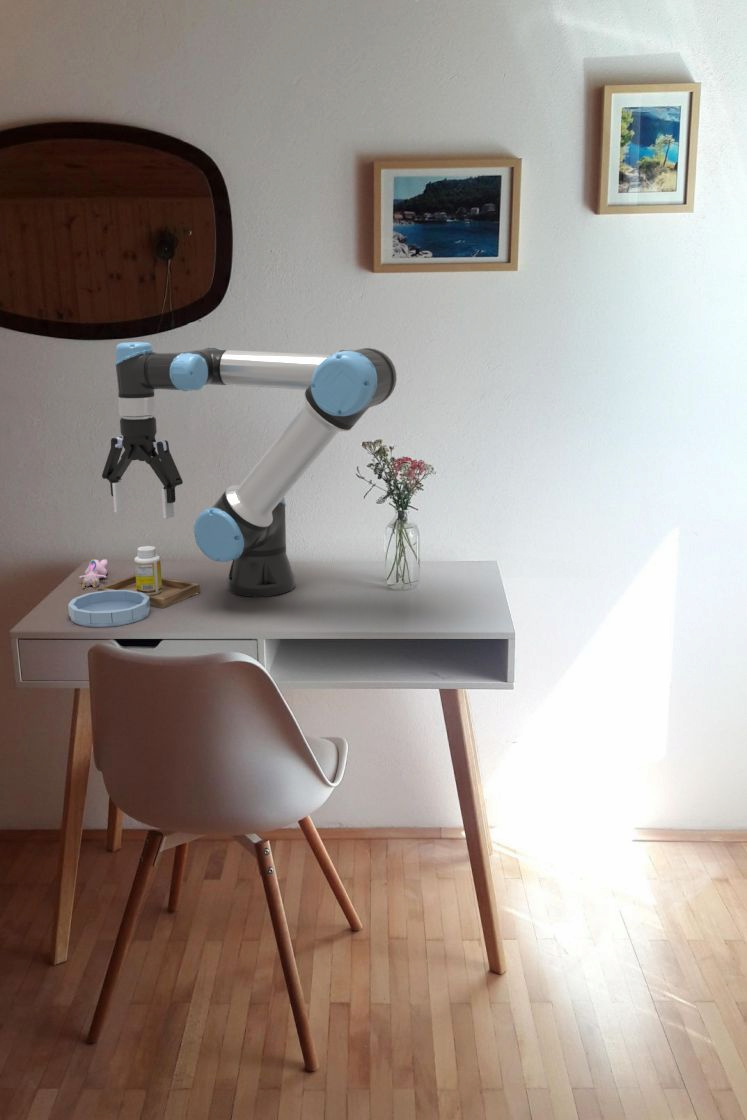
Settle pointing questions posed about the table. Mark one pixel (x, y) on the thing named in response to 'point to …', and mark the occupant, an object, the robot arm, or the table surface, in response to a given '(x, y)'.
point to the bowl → (109, 608)
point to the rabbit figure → (94, 573)
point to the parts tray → (168, 595)
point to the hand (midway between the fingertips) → (143, 514)
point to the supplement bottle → (148, 571)
